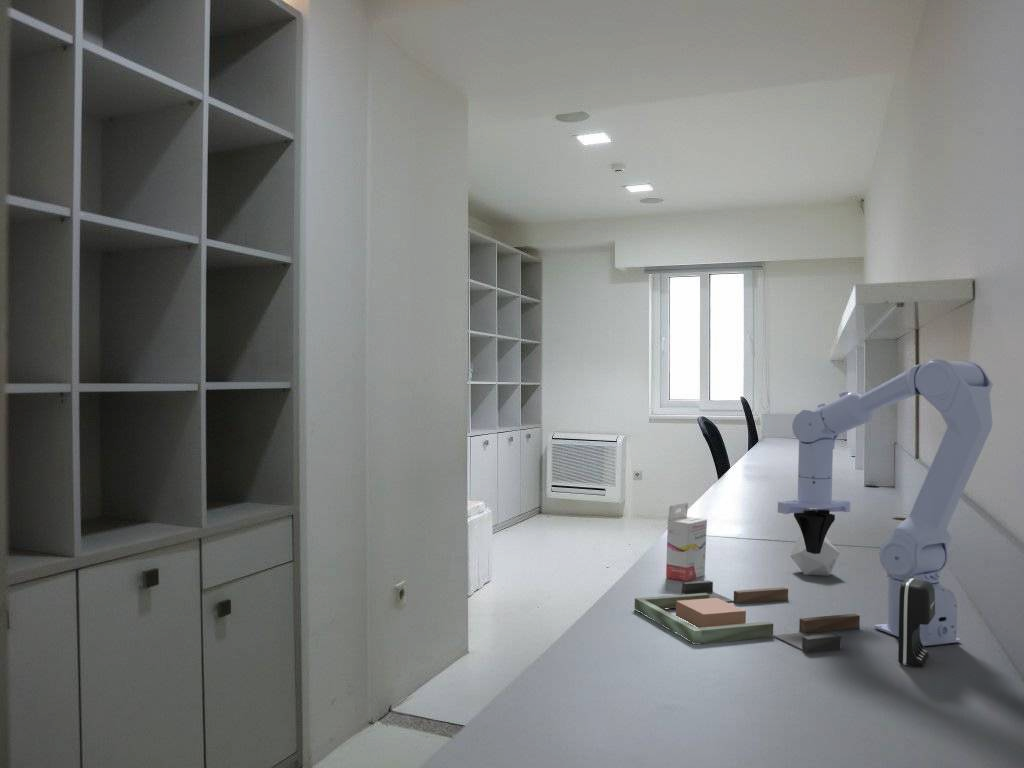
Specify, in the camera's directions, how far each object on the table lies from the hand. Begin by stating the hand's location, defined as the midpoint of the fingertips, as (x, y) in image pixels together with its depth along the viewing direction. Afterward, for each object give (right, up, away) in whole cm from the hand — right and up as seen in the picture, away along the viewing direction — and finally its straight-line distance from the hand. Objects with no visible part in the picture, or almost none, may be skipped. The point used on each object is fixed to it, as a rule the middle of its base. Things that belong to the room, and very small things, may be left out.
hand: (813, 552), depth 136 cm
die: (+10, -10, +25) cm, 29 cm away
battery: (+3, -9, -28) cm, 30 cm away
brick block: (-22, -9, -12) cm, 26 cm away
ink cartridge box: (-19, -9, +19) cm, 28 cm away
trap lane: (-15, -9, -10) cm, 20 cm away
